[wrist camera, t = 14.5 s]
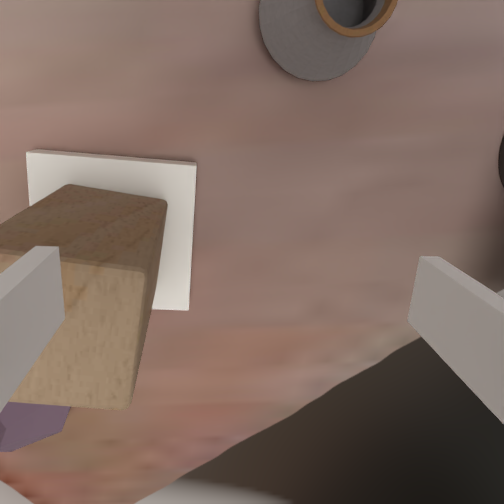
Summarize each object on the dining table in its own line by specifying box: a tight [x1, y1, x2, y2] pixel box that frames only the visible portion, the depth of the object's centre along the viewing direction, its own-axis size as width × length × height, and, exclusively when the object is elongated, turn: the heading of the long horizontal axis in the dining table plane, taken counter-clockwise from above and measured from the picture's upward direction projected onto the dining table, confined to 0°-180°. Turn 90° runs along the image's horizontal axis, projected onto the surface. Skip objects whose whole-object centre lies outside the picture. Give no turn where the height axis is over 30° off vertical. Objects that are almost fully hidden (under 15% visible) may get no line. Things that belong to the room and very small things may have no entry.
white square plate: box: [26, 149, 197, 310], centre depth 45 cm, size 16×16×3 cm
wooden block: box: [0, 184, 168, 410], centre depth 34 cm, size 10×10×20 cm
